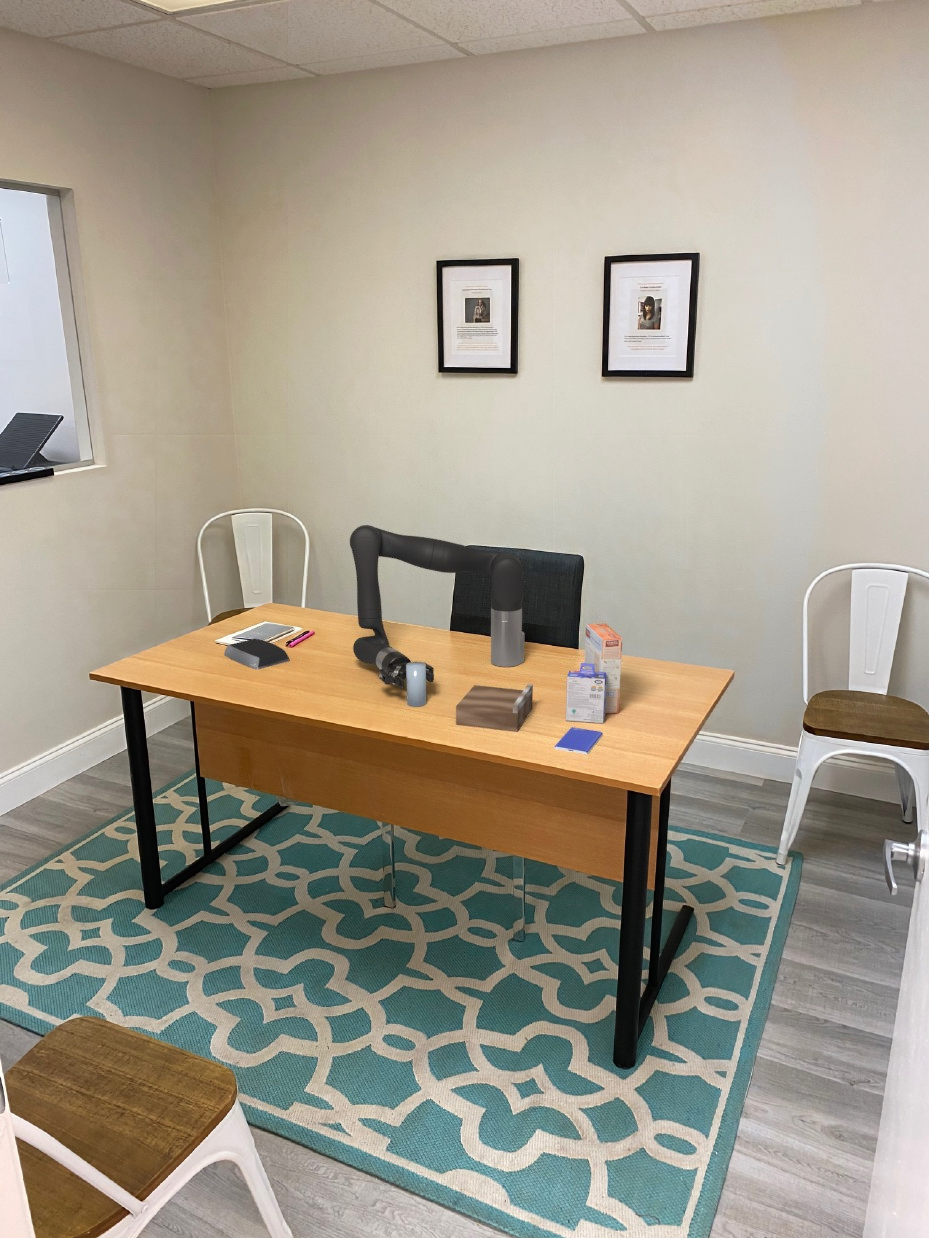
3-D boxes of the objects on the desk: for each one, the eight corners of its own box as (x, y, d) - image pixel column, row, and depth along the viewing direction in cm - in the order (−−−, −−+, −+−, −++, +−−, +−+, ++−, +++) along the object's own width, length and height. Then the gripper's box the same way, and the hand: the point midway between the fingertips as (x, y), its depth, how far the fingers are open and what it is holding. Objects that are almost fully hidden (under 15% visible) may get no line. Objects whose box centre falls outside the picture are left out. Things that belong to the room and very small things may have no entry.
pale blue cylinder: (421, 698, 255) (420, 660, 252) (429, 704, 251) (429, 666, 248) (403, 701, 253) (403, 663, 250) (411, 708, 248) (411, 669, 245)
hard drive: (571, 726, 234) (554, 745, 223) (602, 731, 230) (587, 750, 220) (570, 732, 234) (554, 751, 223) (602, 737, 231) (587, 757, 220)
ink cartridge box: (605, 715, 243) (607, 663, 239) (604, 724, 238) (606, 670, 234) (567, 713, 245) (568, 660, 241) (565, 721, 240) (566, 667, 236)
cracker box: (619, 713, 244) (623, 637, 238) (597, 715, 243) (600, 638, 237) (603, 694, 257) (606, 621, 252) (582, 696, 257) (584, 623, 251)
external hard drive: (255, 671, 278) (254, 658, 277) (221, 656, 291) (220, 644, 290) (292, 662, 287) (291, 649, 285) (258, 647, 300) (257, 635, 299)
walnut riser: (474, 702, 252) (474, 677, 250) (532, 708, 248) (532, 684, 246) (456, 724, 238) (455, 698, 236) (517, 731, 233) (517, 705, 231)
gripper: (369, 655, 259) (392, 672, 245) (416, 647, 265) (441, 664, 251) (370, 680, 261) (393, 699, 247) (416, 672, 267) (441, 690, 253)
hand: (417, 681), depth 249 cm, fingers open, 8 cm apart
